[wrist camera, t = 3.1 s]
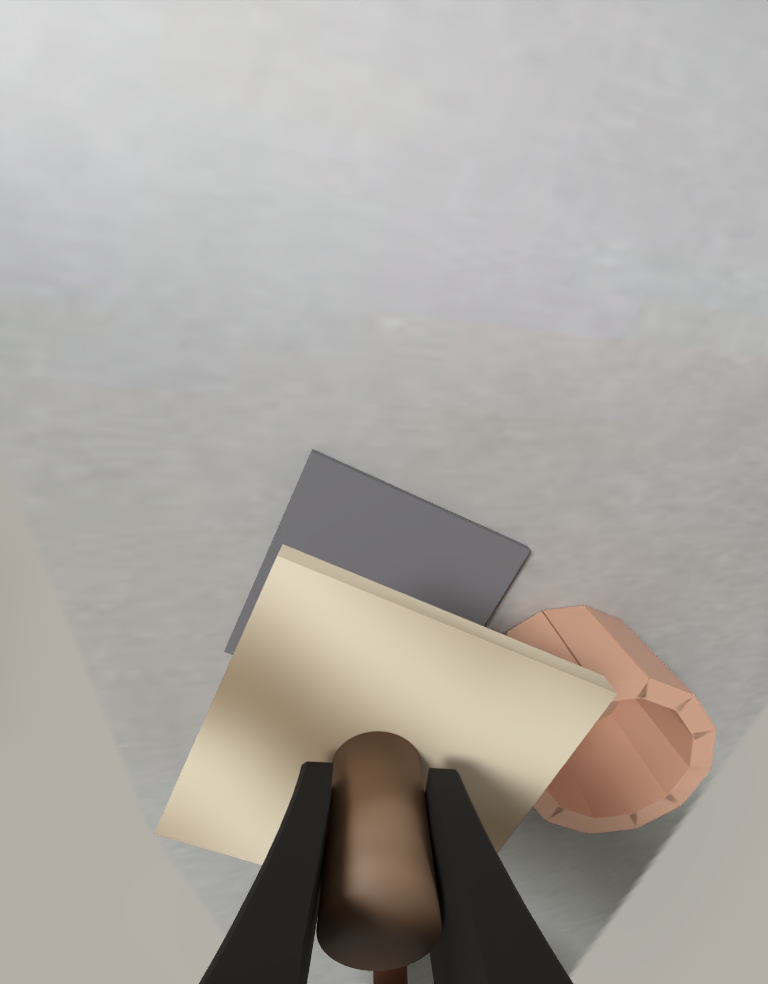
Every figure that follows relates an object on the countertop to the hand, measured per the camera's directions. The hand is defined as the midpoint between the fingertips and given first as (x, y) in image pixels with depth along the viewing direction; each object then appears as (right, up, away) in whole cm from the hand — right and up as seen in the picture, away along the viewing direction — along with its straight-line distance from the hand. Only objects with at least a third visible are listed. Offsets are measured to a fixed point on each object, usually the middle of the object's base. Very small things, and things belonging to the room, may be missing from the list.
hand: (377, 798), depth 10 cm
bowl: (+8, -1, +10) cm, 13 cm away
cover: (0, 0, +1) cm, 1 cm away
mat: (0, +3, +8) cm, 9 cm away
